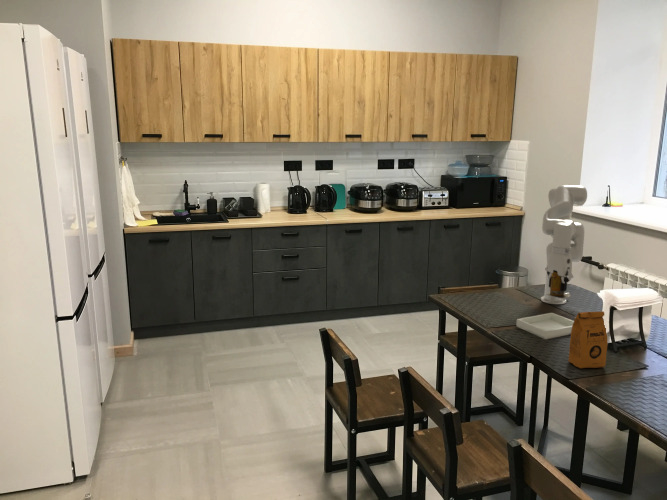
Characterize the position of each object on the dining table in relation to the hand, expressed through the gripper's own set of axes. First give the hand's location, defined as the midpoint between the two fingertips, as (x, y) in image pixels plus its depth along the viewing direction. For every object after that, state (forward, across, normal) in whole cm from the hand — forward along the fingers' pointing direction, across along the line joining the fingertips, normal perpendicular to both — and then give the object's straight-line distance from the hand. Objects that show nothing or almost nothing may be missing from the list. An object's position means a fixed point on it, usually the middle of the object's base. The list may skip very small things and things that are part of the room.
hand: (557, 288), depth 258 cm
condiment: (+3, -1, 0) cm, 3 cm away
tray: (+19, -1, +4) cm, 19 cm away
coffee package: (+18, -37, +20) cm, 46 cm away
